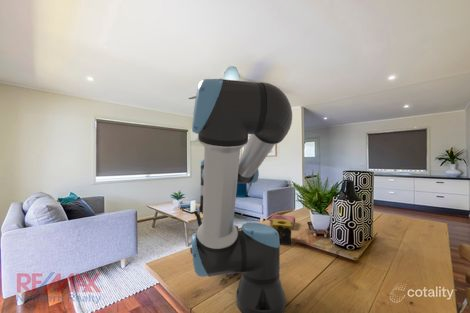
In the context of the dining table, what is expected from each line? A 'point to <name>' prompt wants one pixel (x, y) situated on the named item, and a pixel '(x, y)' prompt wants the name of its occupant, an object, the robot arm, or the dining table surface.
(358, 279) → the dining table surface
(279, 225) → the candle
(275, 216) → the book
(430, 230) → the dining table surface
